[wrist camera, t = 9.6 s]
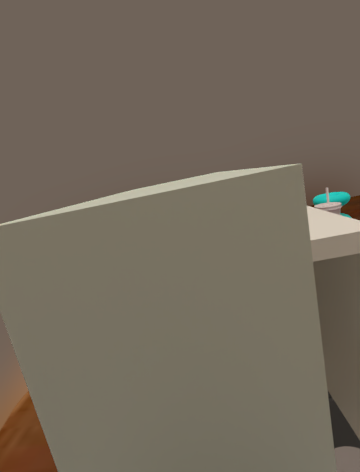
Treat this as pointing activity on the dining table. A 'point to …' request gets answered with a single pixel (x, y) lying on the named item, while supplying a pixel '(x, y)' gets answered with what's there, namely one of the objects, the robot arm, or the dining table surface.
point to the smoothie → (329, 205)
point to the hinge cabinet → (338, 305)
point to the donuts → (333, 199)
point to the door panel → (173, 327)
